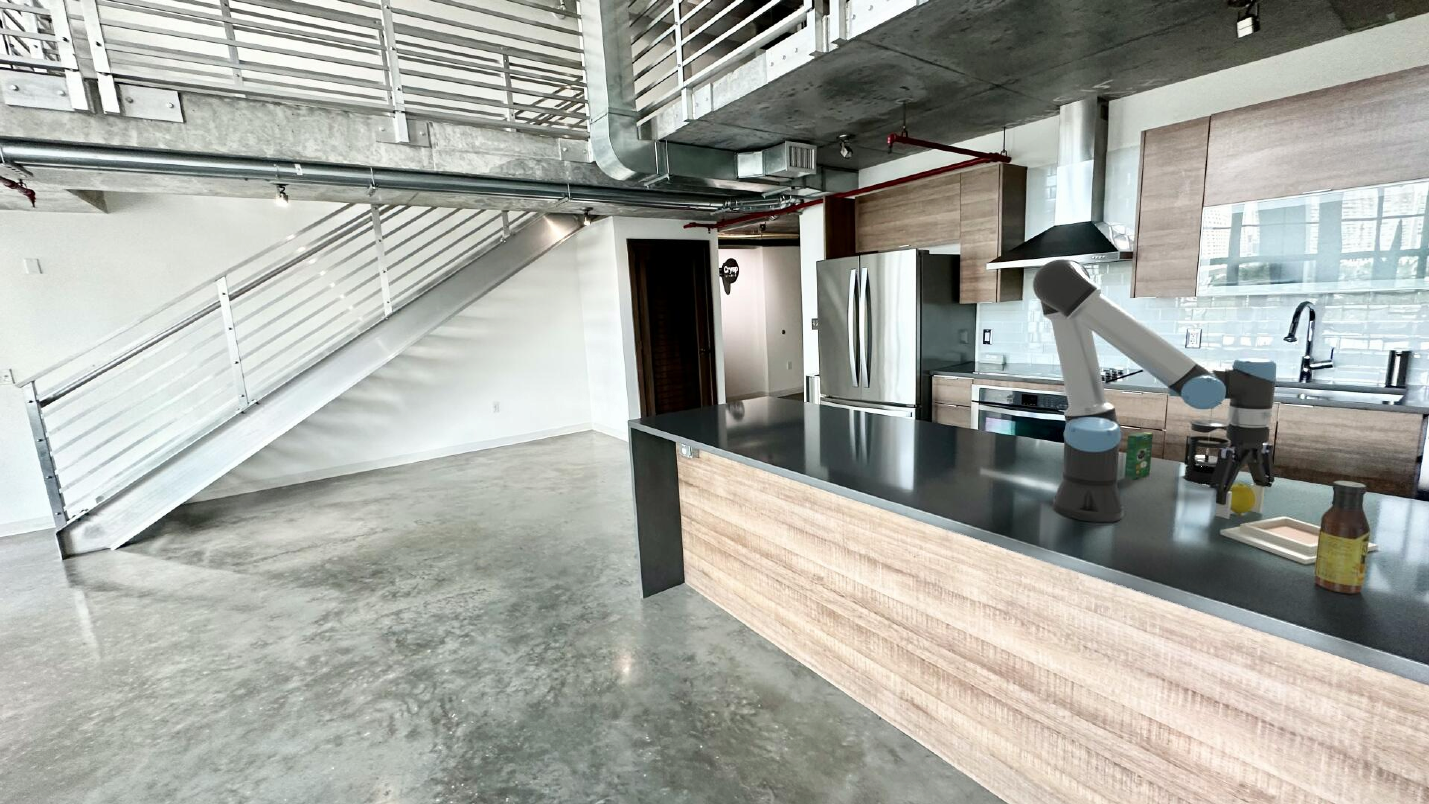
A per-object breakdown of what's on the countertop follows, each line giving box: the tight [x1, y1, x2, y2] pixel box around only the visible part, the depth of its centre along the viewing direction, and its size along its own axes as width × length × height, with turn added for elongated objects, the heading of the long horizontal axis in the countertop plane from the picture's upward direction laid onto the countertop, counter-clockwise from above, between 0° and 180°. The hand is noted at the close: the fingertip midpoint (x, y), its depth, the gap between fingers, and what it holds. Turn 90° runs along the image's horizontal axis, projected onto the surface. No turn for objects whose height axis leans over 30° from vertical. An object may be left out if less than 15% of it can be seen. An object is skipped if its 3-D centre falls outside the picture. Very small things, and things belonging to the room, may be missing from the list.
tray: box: [1219, 515, 1379, 565], centre depth 126 cm, size 20×16×2 cm
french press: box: [1183, 402, 1231, 486], centre depth 165 cm, size 12×9×23 cm
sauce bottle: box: [1314, 480, 1371, 595], centre depth 106 cm, size 6×6×20 cm
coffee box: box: [1123, 431, 1154, 480], centre depth 172 cm, size 8×3×13 cm, turn 114°
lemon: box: [1229, 482, 1255, 516], centre depth 141 cm, size 6×6×8 cm
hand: (1238, 513), depth 142 cm, fingers open, 10 cm apart
